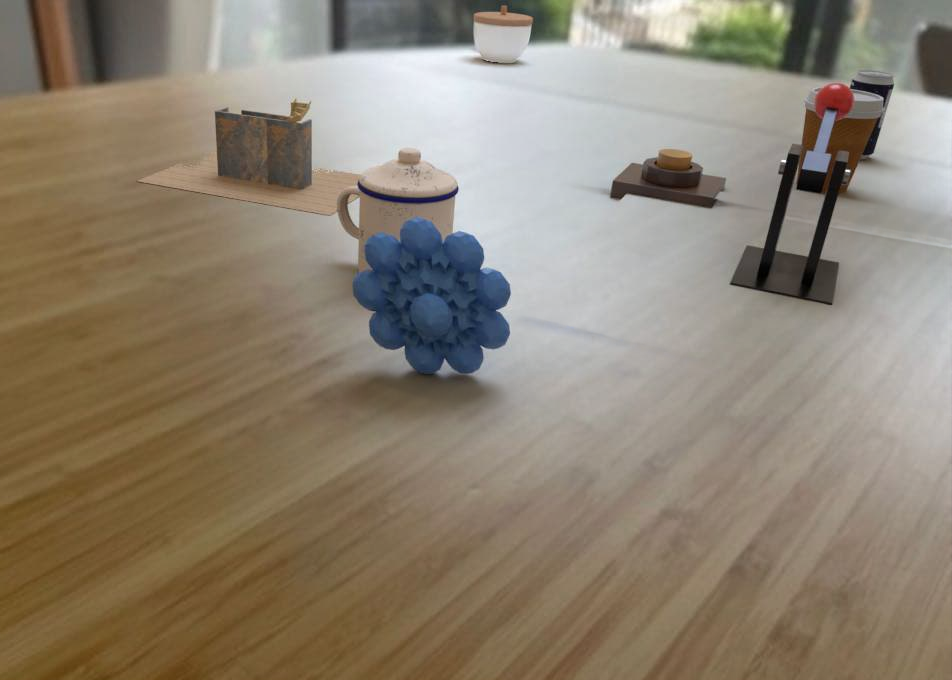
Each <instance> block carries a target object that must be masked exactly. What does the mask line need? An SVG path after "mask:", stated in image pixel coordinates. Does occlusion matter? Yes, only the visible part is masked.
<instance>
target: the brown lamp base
mask: <svg viewBox="0 0 952 680" xmlns="http://www.w3.org/2000/svg"><path fill="white" fill-rule="evenodd" d="M657 158H658V156H655V157H649V158H646V159H645V160H644V161H643V163H638V162H637V163H636V162H631V163H630V164H628V165H627V167H625V168H624V169H623V170H622V171H621V172H620V173H619V174H618V175H617V176H616V177H615V178H614V179H612V183H611V188H610V189H611V190H610V195H609V198H612V199H617V200H622V199H623V198H624V197H625V196H627V194H630V195H636V196H641V197H646V198H652V199H653V198H654V199H659V200H663V201H664V200H665V201H671V202H675V203H679V204H680V203H682V204H687V205H692V206H698V207H703V208H709V209H712V208H713V207H714V205H715V203H716V202H717V200H718V199H717V197H716V196H717V195H718V193H719V192H721V193H722V192H723V190H724V189H725V187H726V182H727V177H722V176H716V175H710V174H704V173H703V171H704V167H703V166H702V165H700V164H698V163H697V162H694V161H691V165H690V169H688V170H673V169H667V168H663V167H660V166H657V165H656V164H657Z"/></svg>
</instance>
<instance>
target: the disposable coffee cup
mask: <svg viewBox="0 0 952 680" xmlns="http://www.w3.org/2000/svg"><path fill="white" fill-rule="evenodd" d="M823 87H824V86H820V87H813V88H811V89H810V91H809V93H808V94H807V97H805V98H804V100H803V101H804V103H805V104H804V107H805V115H804V123H803V129H802V137H801V138H802V139H801V144H800V145H803V150H802V153H801V157H800V161H799V165H798V169H797V173H796V182H795V184H796V185H797V183H798V179H799V175H800V171H801V168H802V164H803V161H804V158H805V154H806V151H813V150H814V147H815V143H816V140H817V137H818V133H819V130H820V126H821V123H822V120H823V119H821V118H820V117H819V116H818V115H817V114H816V112H815V109H814V100H815V97H816V95H817V93H818V92H819V91H820V90H821V89H822V88H823ZM851 90H852V92H853V95H854V105H853V108H852V110H851V111H850V112H849V114H848V115H847V116H845V117H844V118H842V119H840V120H837V121H835V122H834V126H833V129H832V133H831V136H830V140H829V144H828V147H827V151H826V153H827V154H832V156H831V160H830V164H829V167H828V171H827V175H826V178H825V182H824V185H823V189H822V192H821V194H822V193H823V194H826V191H827V187H828V184H829V180H830V177H831V173H832V170H833V166H834V163H835V159H836V155H837V152H838V150H840V151H847V152H849V157H848V162H847V166H846V169H850V170H851V172H850V176H849V179H848V183H847V185H842V184H841V187H840V190H839V194H844V193H846V192H847V191H848V188H849V185H850V183H851V181H852V179H853V177H854V174H855V172H856V169H857V167H858V165H859V163H860V161H861V159H860V158H861V156H862V154H863V151H864V149H865V147H866V145H867V142H868V140H869V138H870V135H871V133H872V131H873V129H874V126H875V124H876V121H877V119H878V117H880V116H881V113H883V112H884V110H885V109H884V108H883V100H884V98H883V97H881V96H879V95H877V94H873V93H869V92H865V91H859V90H853V89H851Z"/></svg>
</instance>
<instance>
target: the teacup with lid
mask: <svg viewBox="0 0 952 680" xmlns="http://www.w3.org/2000/svg"><path fill="white" fill-rule="evenodd" d="M397 155H398V156H397V158H394V159H391V160H388V161H387V162H384V163H383V164H381V165H378V166H373V167H370V168H368V169H365V170H363V172H361V174H360V175H361V176H360V177H359V180H358V183H357V185H358V186H351V187H348V188H346V189H344V190H343V191H342V192H341V193H340V194H339V196H338V200H337V211H336V212H337V216H338V220H339V222H340V224H341V227H342V228H343V229H344V231H345V232H346V233H347V234H348V235H349V236H351V237H352V238H354V239H356V240H358V248H357V249H358V250H357V251H358V253H357V255H358V256H357V269H358V273H360V272H363V271H365V270H368V269H370V270H373V269H372V268H371V267H370V266H369V264H368V263H367V261H366V260H365V252H364V247H365V243H366V242H367V240H368V238H369V237H371V236H373V235H376V234H378V233H380V232H382V233H386V234H389V235H391V236H394V237H396V238H397V240H398V241H399V242H400V243H401V241H400V230H401V228H402V226H403V224H404V222H406V221H408V220H411V219H413V218H415V217H420V218H423V219H426V220H429V221H431V222H432V223H433V224H434V225H435V227H436V228H437V229H438V231H439V232H440V233H441V236H442V243H443V242H444V240H445V238H446V236H448V235H451V234H453V233H454V222H455V221H454V220H455V207H456V195H458V193H459V190H460V189H459V185H458V182H457V179H456V178H455V177H454V176H453V175H452V174H451V173H450V172H448V171H446V170H442V169H439V168H436V166H434V165H433V164H431V163H430V162H428V161H426V160H424V159H422V153H421V151H420V149H418V148H414V147H403V148H401V149H400V150H399V151H398V154H397ZM351 194H353V195H358V196H359V207H358V209H359V211H358V214H359V215H358V227H357V225H356V224H355V223H354V222H353V220H352V218H351V215H350V212H349V208H348V207H349V203H348V198H349V196H350V195H351Z"/></svg>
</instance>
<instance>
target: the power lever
mask: <svg viewBox="0 0 952 680" xmlns="http://www.w3.org/2000/svg"><path fill="white" fill-rule="evenodd" d="M822 87H823V88H822V89H821V90H820V91H819V92H818V93H817V95H816V97H815V100H814V109H815V112H816V114H817V115H818V116H819V117H820V118H821V119H823V120H822V123H821V126H820V130H819V133H818V137H817V140H816V143H815V147H814V150H813V151H806V154H805V158H804V161H803V164H802V168H801V171H800V175H799V179H798V183H797V184H796V188H795V190H797V191H803V192H808V193H815V194H819V195H820V194H822V193H821V192H822V189H823V185H824V182H825V178H826V175H827V171H828V167H829V164H830V160H831V156H832V154H827V153H826V151H827V147H828V144H829V140H830V136H831V133H832V129H833V126H834V122H835V121H837V120H840V119H842V118H844V117H845V116H847V115H848V114H849V112H850V111H851V110H852V108H853V105H854V95H853V92H852V90H851V89H850V86H849V85H846V84H845V83H841V82H832V83H829V84H826V85H824V86H822Z"/></svg>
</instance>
